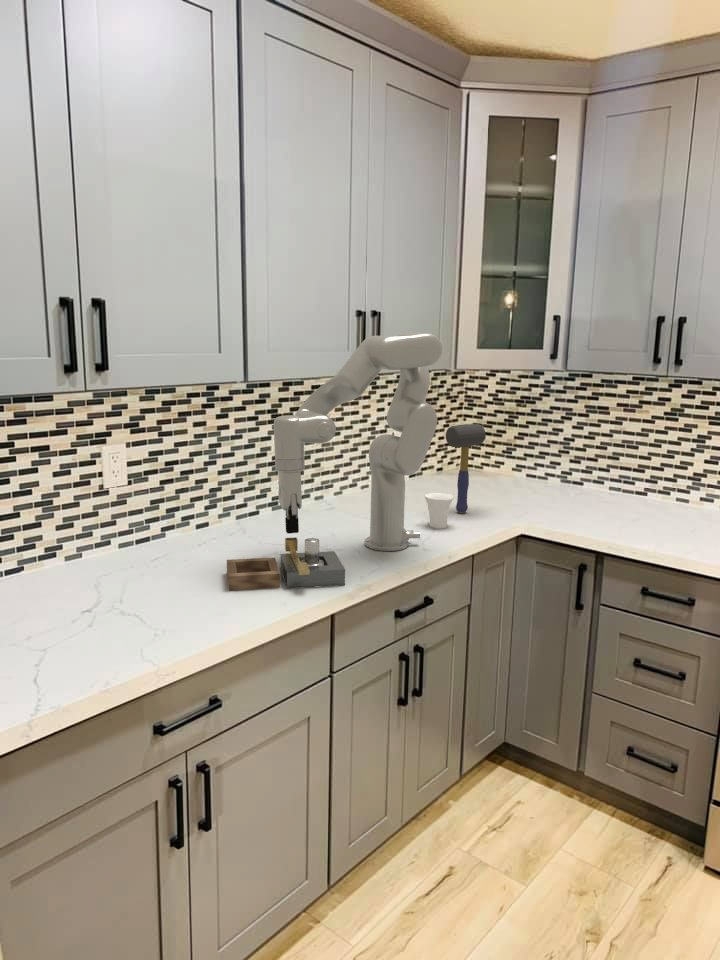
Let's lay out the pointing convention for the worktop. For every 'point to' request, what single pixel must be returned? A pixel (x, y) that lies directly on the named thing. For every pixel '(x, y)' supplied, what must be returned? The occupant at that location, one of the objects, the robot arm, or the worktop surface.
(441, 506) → the cup
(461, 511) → the rubber mallet
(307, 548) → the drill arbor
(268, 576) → the frame
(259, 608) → the worktop surface
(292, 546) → the brass key
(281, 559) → the spindle block
